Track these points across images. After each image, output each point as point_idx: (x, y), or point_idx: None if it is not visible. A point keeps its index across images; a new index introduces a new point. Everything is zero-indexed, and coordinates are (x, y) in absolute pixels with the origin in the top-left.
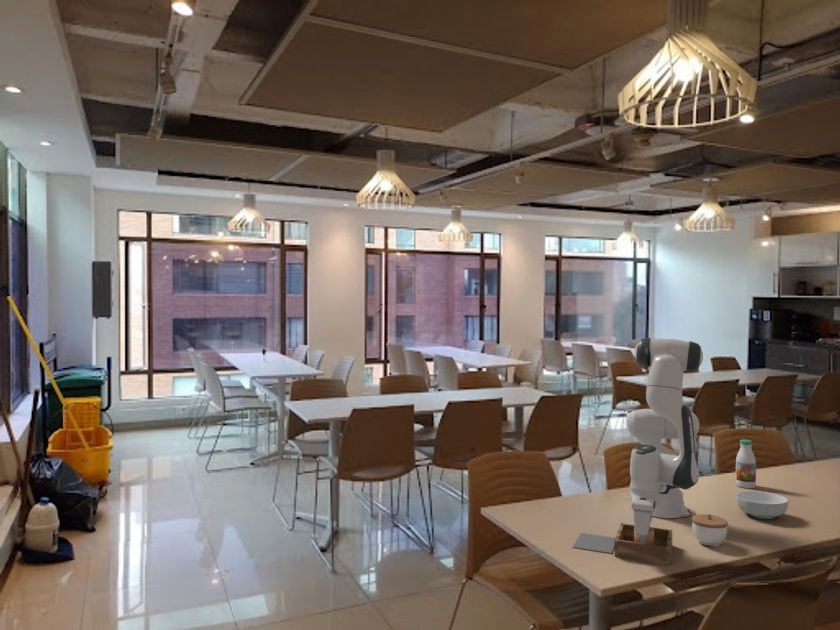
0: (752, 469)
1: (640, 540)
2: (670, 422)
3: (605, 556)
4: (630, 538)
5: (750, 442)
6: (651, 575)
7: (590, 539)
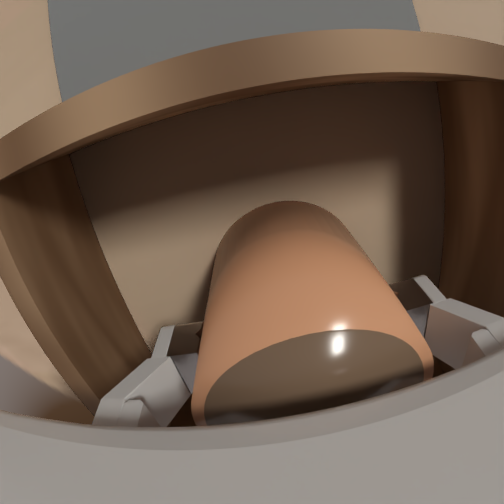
0: None
1: (156, 353)
2: None
3: (14, 100)
4: (451, 133)
5: None
6: (19, 360)
7: None
